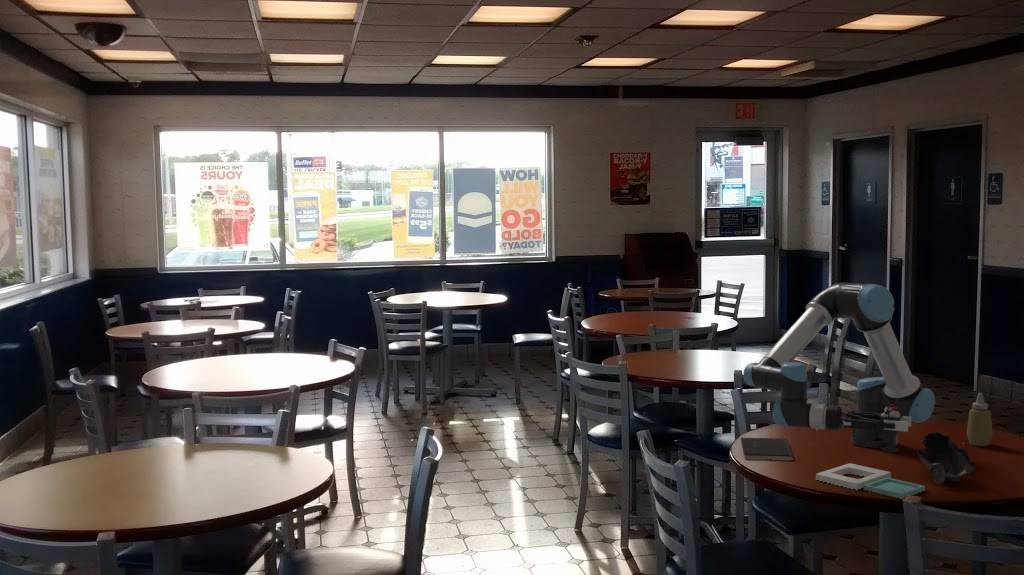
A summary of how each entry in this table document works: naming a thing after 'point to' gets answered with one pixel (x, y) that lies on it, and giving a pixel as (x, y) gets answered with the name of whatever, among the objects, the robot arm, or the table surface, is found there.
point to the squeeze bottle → (979, 423)
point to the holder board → (836, 478)
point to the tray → (894, 488)
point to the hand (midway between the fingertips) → (909, 424)
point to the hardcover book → (766, 449)
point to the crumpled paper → (944, 458)
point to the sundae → (894, 415)
